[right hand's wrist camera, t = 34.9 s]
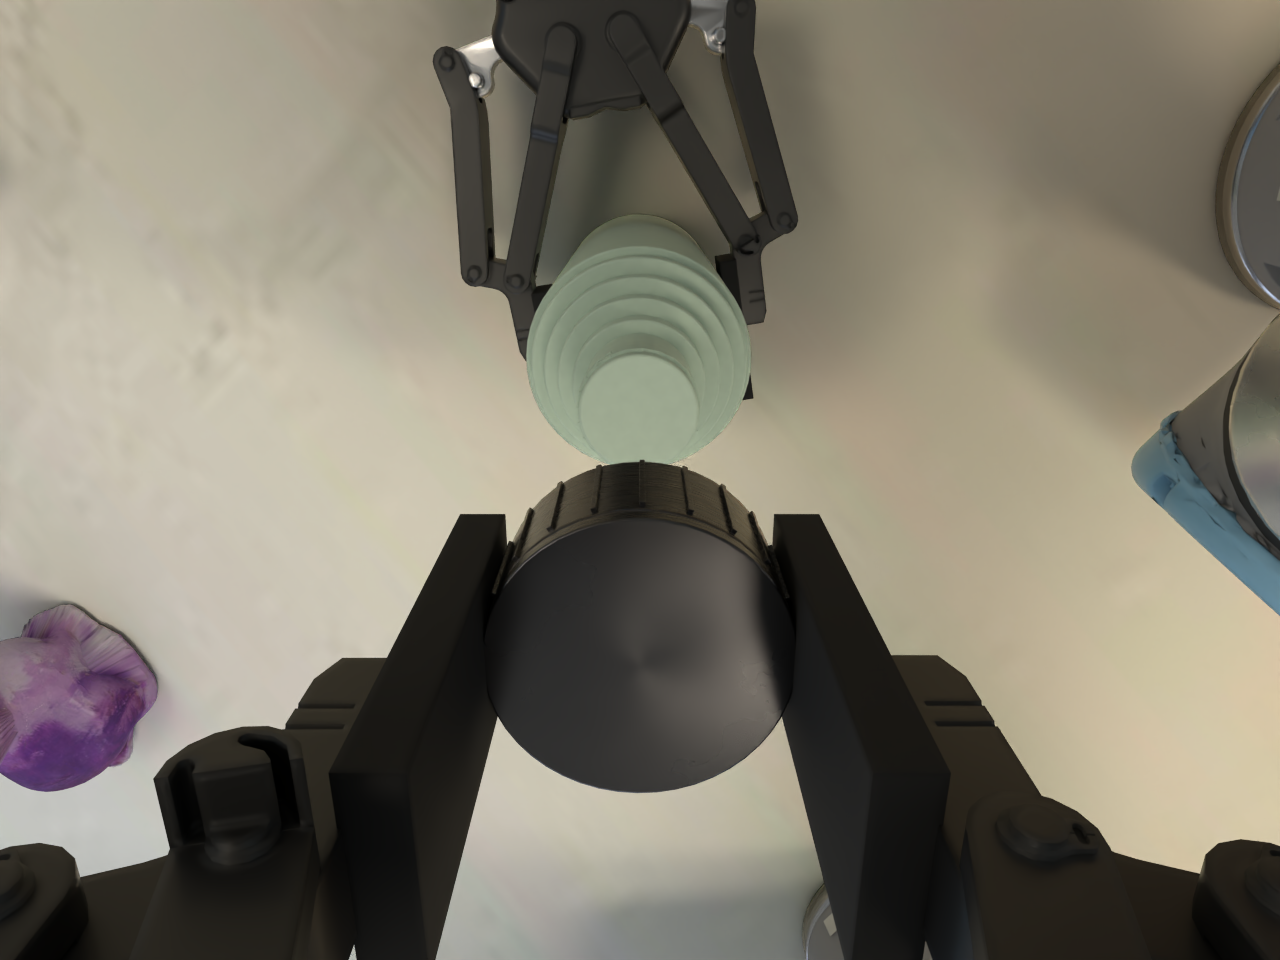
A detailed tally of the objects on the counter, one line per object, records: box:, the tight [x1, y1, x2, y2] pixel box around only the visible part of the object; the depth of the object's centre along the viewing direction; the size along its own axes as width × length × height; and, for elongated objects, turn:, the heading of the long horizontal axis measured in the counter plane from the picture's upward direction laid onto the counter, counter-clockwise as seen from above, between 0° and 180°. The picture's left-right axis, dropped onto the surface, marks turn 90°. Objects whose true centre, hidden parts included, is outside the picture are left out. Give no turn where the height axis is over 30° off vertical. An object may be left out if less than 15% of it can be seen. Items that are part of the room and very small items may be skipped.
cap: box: [483, 460, 796, 793], centre depth 14 cm, size 5×5×2 cm
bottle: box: [526, 214, 751, 465], centre depth 35 cm, size 8×8×24 cm
